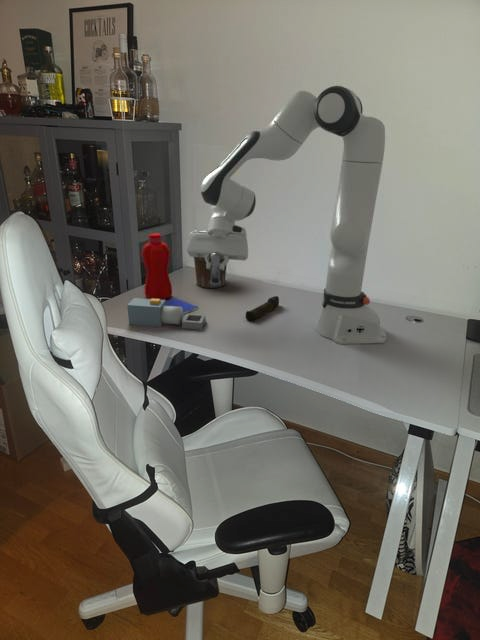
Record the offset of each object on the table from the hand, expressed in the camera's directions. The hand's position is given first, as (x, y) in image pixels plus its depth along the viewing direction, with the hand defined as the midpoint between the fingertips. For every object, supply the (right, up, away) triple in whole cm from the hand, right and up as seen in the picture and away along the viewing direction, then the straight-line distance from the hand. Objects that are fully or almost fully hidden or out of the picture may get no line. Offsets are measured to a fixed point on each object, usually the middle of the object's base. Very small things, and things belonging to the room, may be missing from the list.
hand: (214, 268), depth 132 cm
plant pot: (-4, -1, +44) cm, 44 cm away
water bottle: (-25, -8, +28) cm, 38 cm away
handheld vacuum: (-16, -18, +6) cm, 25 cm away
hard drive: (-15, -13, +20) cm, 27 cm away
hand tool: (+17, -14, +17) cm, 27 cm away
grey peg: (0, -5, +3) cm, 6 cm away
